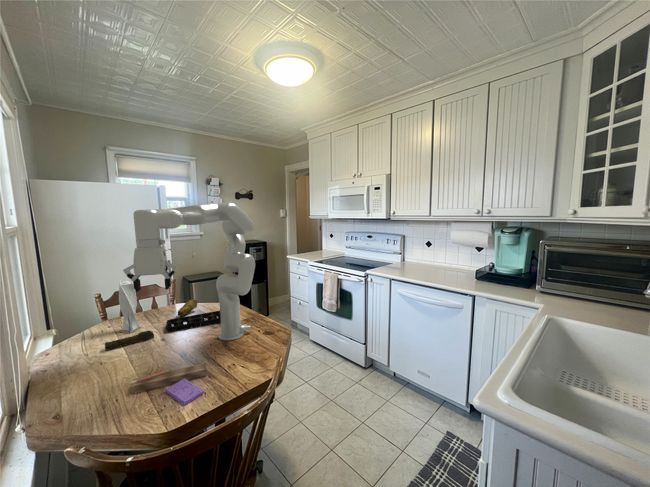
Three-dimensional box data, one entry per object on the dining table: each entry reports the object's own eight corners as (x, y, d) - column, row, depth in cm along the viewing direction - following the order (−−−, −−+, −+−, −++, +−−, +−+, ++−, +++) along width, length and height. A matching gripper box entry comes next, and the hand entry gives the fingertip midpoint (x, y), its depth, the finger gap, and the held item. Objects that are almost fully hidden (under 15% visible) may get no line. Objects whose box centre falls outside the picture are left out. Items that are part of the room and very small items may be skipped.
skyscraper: (116, 332, 141) (111, 280, 137) (129, 326, 149) (124, 277, 145) (131, 333, 140) (126, 281, 136) (143, 326, 148) (138, 277, 144)
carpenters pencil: (165, 372, 100) (165, 370, 100) (166, 373, 99) (166, 372, 99) (131, 383, 94) (131, 381, 94) (131, 384, 93) (131, 382, 93)
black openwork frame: (162, 327, 148) (162, 320, 147) (217, 313, 167) (217, 307, 167) (168, 338, 135) (168, 331, 134) (228, 321, 154) (227, 315, 153)
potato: (173, 315, 164) (172, 302, 163) (195, 309, 173) (194, 297, 173) (179, 318, 158) (178, 305, 157) (201, 312, 168) (200, 299, 167)
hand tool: (105, 352, 121) (104, 343, 120) (105, 349, 124) (104, 339, 123) (154, 340, 132) (153, 331, 131) (153, 337, 135) (153, 328, 135)
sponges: (184, 407, 86) (184, 401, 86) (165, 393, 93) (164, 388, 93) (204, 394, 92) (204, 389, 92) (184, 382, 99) (184, 377, 99)
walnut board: (206, 368, 107) (205, 362, 106) (206, 375, 102) (205, 369, 102) (133, 385, 97) (133, 378, 97) (130, 393, 92) (129, 387, 92)
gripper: (178, 241, 103) (181, 285, 105) (125, 243, 98) (130, 289, 100) (172, 243, 96) (176, 290, 98) (116, 246, 91) (121, 294, 93)
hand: (153, 289), depth 99 cm, fingers open, 9 cm apart
